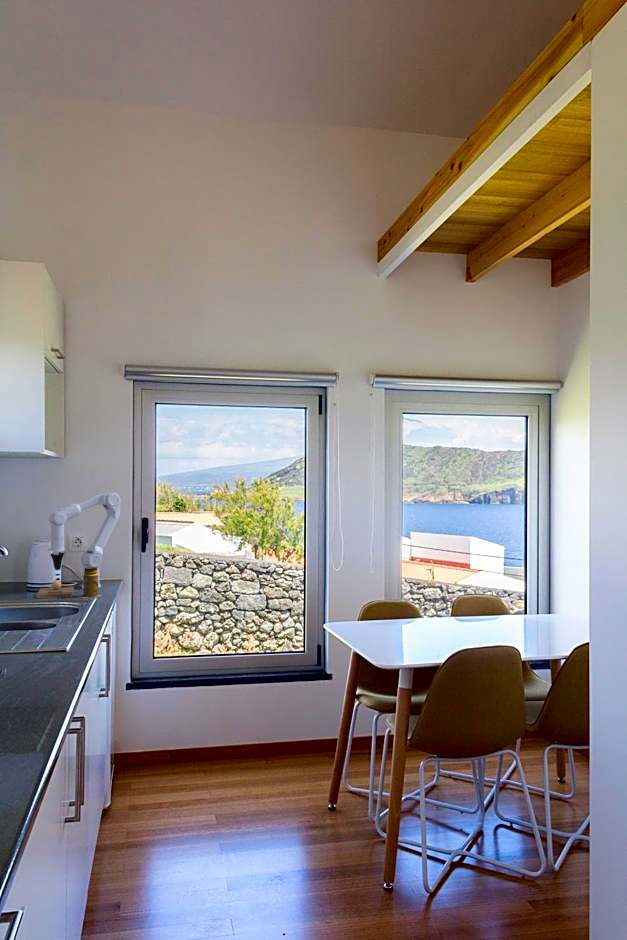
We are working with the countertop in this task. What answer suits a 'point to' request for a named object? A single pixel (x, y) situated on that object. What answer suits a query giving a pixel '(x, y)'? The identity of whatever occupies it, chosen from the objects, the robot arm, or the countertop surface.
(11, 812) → the countertop surface
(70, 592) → the deck
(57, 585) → the ball
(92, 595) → the condiment
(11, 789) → the countertop surface
